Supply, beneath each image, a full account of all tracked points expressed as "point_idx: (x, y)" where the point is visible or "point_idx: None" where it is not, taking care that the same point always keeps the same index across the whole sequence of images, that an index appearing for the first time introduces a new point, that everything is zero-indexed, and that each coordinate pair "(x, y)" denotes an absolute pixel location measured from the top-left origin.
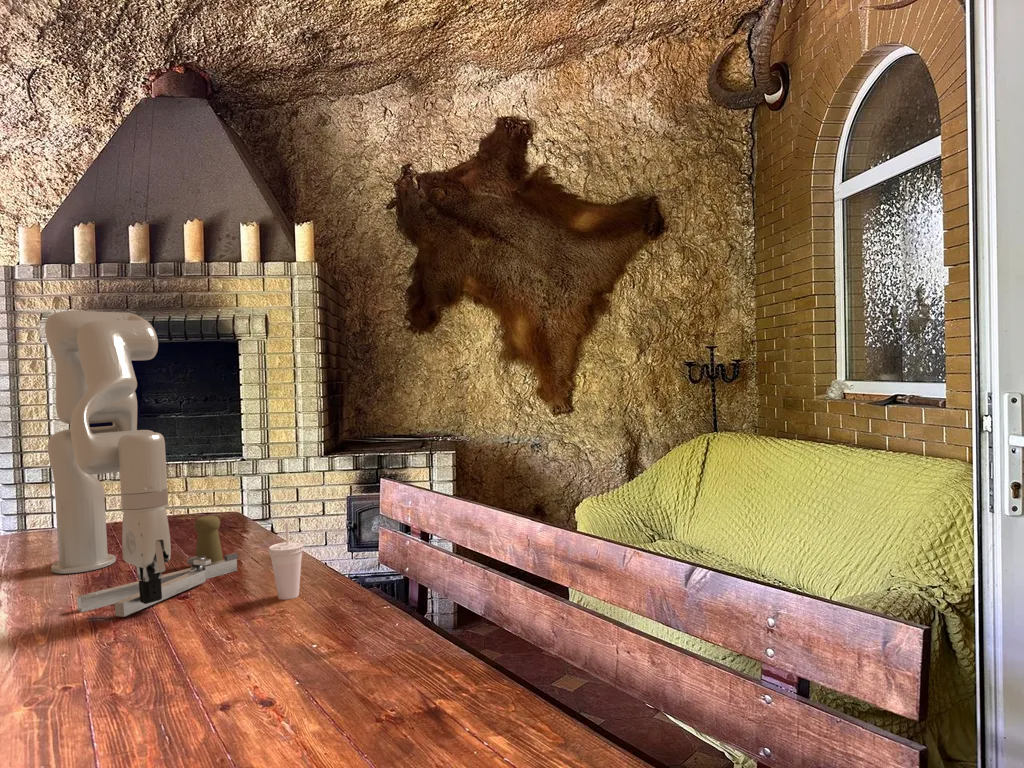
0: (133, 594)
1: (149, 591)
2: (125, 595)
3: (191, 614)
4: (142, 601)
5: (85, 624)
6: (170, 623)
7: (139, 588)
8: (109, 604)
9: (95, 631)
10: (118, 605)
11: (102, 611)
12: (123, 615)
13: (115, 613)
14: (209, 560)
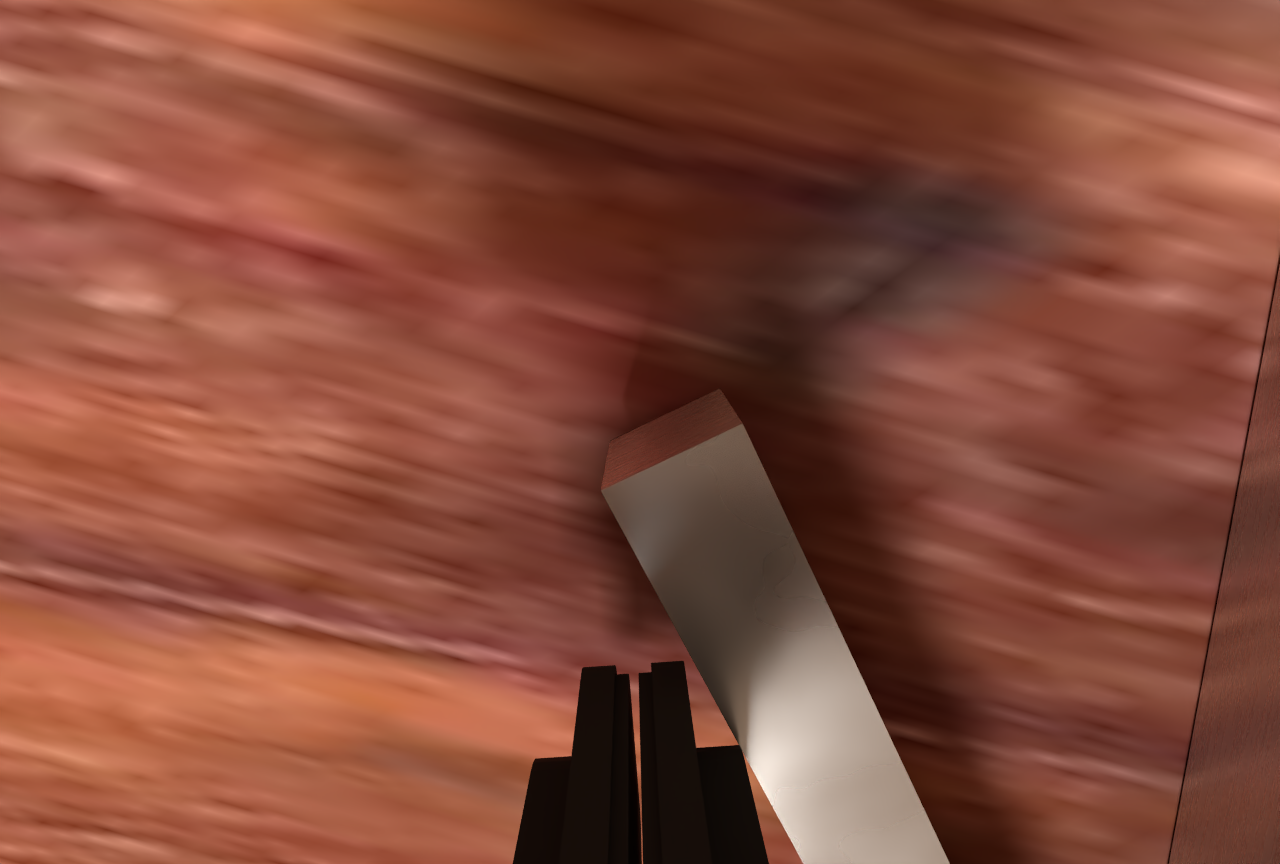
0: (1238, 716)
1: (523, 824)
2: (1264, 654)
3: (276, 835)
4: (611, 672)
5: (814, 101)
6: (161, 661)
7: (690, 785)
8: (1244, 479)
9: (470, 109)
10: (684, 441)
11: (1098, 366)
12: (618, 439)
13: (718, 393)
14: None
